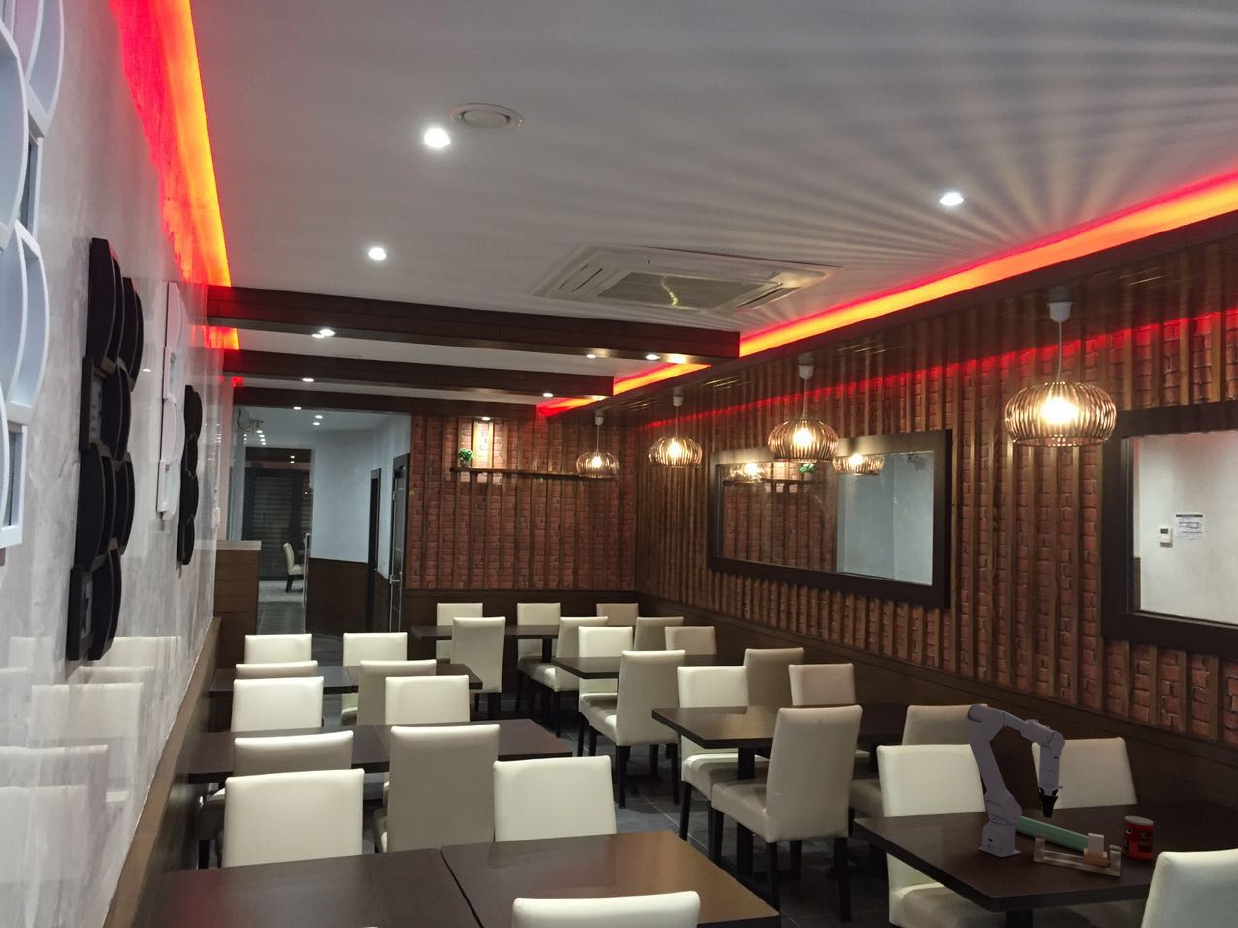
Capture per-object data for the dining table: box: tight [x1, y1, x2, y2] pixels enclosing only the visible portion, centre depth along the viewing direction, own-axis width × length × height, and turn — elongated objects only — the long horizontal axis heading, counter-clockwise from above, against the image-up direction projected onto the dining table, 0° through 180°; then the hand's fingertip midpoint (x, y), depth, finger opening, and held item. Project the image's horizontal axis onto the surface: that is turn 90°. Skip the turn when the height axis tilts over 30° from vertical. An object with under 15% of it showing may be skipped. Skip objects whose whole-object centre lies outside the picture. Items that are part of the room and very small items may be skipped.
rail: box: [1033, 833, 1123, 877], centre depth 297 cm, size 23×8×7 cm, turn 66°
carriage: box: [1083, 832, 1108, 867], centre depth 295 cm, size 6×6×8 cm
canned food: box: [1123, 815, 1155, 861], centre depth 309 cm, size 8×8×11 cm
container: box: [1015, 815, 1088, 853], centre depth 318 cm, size 6×6×25 cm
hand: (1047, 814), depth 310 cm, fingers open, 7 cm apart
